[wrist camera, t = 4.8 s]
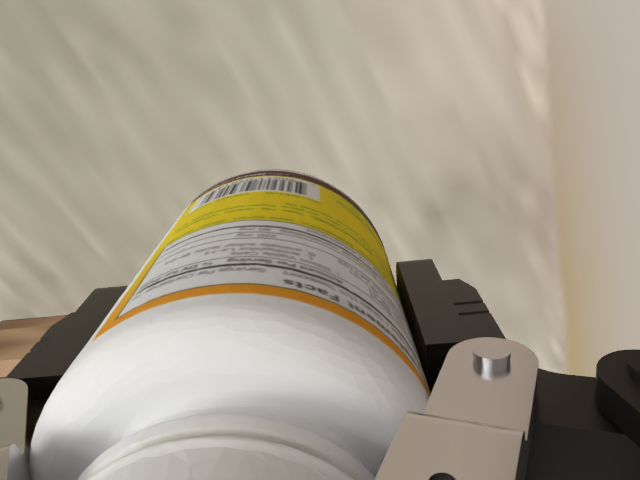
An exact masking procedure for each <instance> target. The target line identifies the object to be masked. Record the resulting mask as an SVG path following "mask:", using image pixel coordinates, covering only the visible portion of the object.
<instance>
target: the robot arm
mask: <svg viewBox="0 0 640 480" xmlns="http://www.w3.org/2000/svg"><path fill="white" fill-rule="evenodd" d="M396 277H397V290H398V293H399V296H400V299H401V303H402V306H403V309H404V312H405V315H406V318H407V321H408V325H409V328H410V331H411V334H412V337H413V340H414V343H415V346H416V349H417V352H418V356H419V359H420V362H421V366H422V369H423V372H424V375H425V377H426V380H427V384H428V387H429V390H430V393H431V395H430V397H429V399H428V402H427V404H426V407H425V410H424V411H423V413H419V412H413V411H408V412H406V414H405V415H404V417H403V418H402V420H401V423H400V425H399V427H398V429H397V431H396V434H395V436H394V438H393V440H392V442H391V444H390V447H389V449H388V451H387V453H386V455H385V458H384V460H383V462H382V464H381V466H380V468H379V471H378V473H377V475H376V477H375V479H374V480H640V350H622V351H616V352H612V353H609V354H607V355H605V356H604V357H602V358H601V359H600V360H599V361H598V363H597V368H596V378H594V377H585V376H575V375H566V374H559V373H554V372H549V371H546V370H542V369H539V368H538V359H537V357H536V355H535V354H534V353H533V352H532V351H531V350H530V349H529V348H527V347H526V346H524V345H522V344H520V343H517V342H514V341H511V340H507V339H506V338H505V337H504V335H503V333H502V332H501V330H500V328H499V327H498V325H497V323H496V322H495V320H494V318H493V317H492V315H491V313H489V310H488V308H487V307H486V305H485V303H483V300H482V298H481V297H480V295H479V294H478V292H477V290H476V289H475V288H474V287H472V286H470V285H469V284H467V283H465V282H463V281H462V280H460V279H454V280H442V279H441V277H440V275H439V273H438V271H437V269H436V267H435V265H434V263H433V261H432V259H426V260H415V261H404V262H397V264H396ZM127 287H128V286H120V287H109V288H98V289H95V290H94V291H93V292H92V293H91V294H90V296H89V297H88V298H87V299H86V300H85V301H84V303H83V304H82V305H81V306H80V307H79V308H78V310H77V311H76V312H75V313H71V314H69V315H68V316H66V317H64V318H63V319H61V320H60V321H58V322H56V323H55V324H53V325H52V326H51V327H50V328H49V329H48V330H47V331H46V333H45V334H44V335H43V336H42V337H41V338H40V341H38V342H37V343H36V344H35V345H34V346H33V347H32V348H31V349H30V352H29V353H27V354H26V355H25V356H24V357H23V358H22V360H21V361H20V362H19V363H18V364H17V365H16V366H15V367H14V368H13V370H12V371H11V372H10V373H9V374H8V375H7V376H6V377H5V378H3V379H0V480H32V477H31V471H30V466H29V451H30V446H31V441H32V437H33V434H34V430H35V427H36V424H37V422H38V419H39V417H40V415H41V413H42V410H43V408H44V406H45V404H46V402H47V400H48V398H49V397H50V395H51V393H52V392H53V390H54V388H55V387H56V385H57V383H58V382H59V381H60V379H61V378H62V376H63V375H64V374H65V372H66V371H67V369H68V368H69V367H70V365H71V364H72V362H73V361H74V360H75V358H76V357H77V356H78V355H79V353H80V352H81V351H82V349H83V348H84V347H85V345H86V344H87V343H88V341H89V340H90V338H91V337H92V336H93V334H94V333H95V331H96V330H97V329H98V327H99V326H100V325H101V323H102V322H103V320H104V319H105V318H106V316H107V315H108V313H109V312H110V311H111V309H112V308H113V306H114V305H115V304H116V302H117V301H118V299H119V298H120V297H121V295H122V294H123V293H124V291H125V290H126V289H127Z"/></svg>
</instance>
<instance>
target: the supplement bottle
mask: <svg viewBox="0 0 640 480" xmlns="http://www.w3.org/2000/svg"><path fill="white" fill-rule="evenodd" d="M430 395H431V393H430V390H429V387H428V384H427V380H426V377H425V375H424V372H423V369H422V366H421V362H420V359H419V356H418V352H417V349H416V346H415V343H414V340H413V337H412V334H411V331H410V328H409V325H408V321H407V318H406V315H405V312H404V309H403V306H402V303H401V299H400V296H399V293H398V290H397V287H396V284H395V280H394V277H393V274H392V271H391V268H390V265H389V262H388V258H387V255H386V252H385V249H384V246H383V243H382V241H381V239H380V237H379V235H378V233H377V231H376V229H375V227H374V226H373V224H372V222H371V221H370V220H369V218H368V217H367V215H366V214H365V213H364V211H363V210H362V209H361V208H360V207H359V206H358V205H357V204H356V203H355V202H354V201H353V200H352V199H351V198H350V197H349V196H347V195H346V194H345V193H343V192H342V191H341V190H339V189H337V188H336V187H334V186H333V185H331V184H329V183H327V182H325V181H323V180H321V179H318V178H316V177H314V176H311V175H307V174H304V173H300V172H295V171H288V170H279V169H266V170H256V171H250V172H245V173H241V174H238V175H235V176H232V177H230V178H227V179H225V180H223V181H220V182H218V183H217V184H215V185H213V186H211V187H210V188H208V189H207V190H206V191H204V192H203V193H201V194H200V195H199V196H198V197H196V198H195V199H194V200H193V201H192V202H191V203H190V204H189V205H188V206H187V207H186V208H185V209H184V211H183V212H182V213H181V215H180V216H179V217H178V219H177V220H176V221H175V223H174V224H173V225H172V227H171V228H170V229H169V231H168V232H167V233H166V235H165V236H164V237H163V239H162V240H161V242H160V243H159V244H158V246H157V247H156V248H155V250H154V251H153V252H152V254H151V255H150V256H149V258H148V259H147V261H146V262H145V264H144V265H143V266H142V268H141V269H140V271H139V272H138V274H137V275H136V276H135V278H134V279H133V280H132V282H131V283H130V284H129V286H128V287H127V289H126V290H125V291H124V293H123V294H122V295H121V297H120V298H119V299H118V301H117V302H116V304H115V305H114V306H113V308H112V309H111V311H110V312H109V313H108V315H107V316H106V318H105V319H104V320H103V322H102V323H101V325H100V326H99V327H98V329H97V330H96V331H95V333H94V334H93V336H92V337H91V338H90V340H89V341H88V343H87V344H86V345H85V347H84V348H83V349H82V351H81V352H80V353H79V355H78V356H77V357H76V358H75V360H74V361H73V362H72V364H71V365H70V367H69V368H68V369H67V371H66V372H65V374H64V375H63V376H62V378H61V379H60V381H59V382H58V383H57V385H56V387H55V388H54V390H53V392H52V393H51V395H50V397H49V398H48V400H47V402H46V404H45V406H44V408H43V410H42V413H41V415H40V417H39V419H38V422H37V424H36V427H35V430H34V434H33V437H32V441H31V446H30V451H29V466H30V471H31V477H32V480H374V479H375V477H376V475H377V473H378V471H379V468H380V466H381V464H382V462H383V460H384V458H385V455H386V453H387V451H388V449H389V447H390V444H391V442H392V440H393V438H394V436H395V434H396V431H397V429H398V427H399V425H400V423H401V420H402V418H403V417H404V415H405V414H406V412H408V411H413V412H419V413H423V411H424V410H425V407H426V404H427V402H428V399H429V397H430Z"/></svg>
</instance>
